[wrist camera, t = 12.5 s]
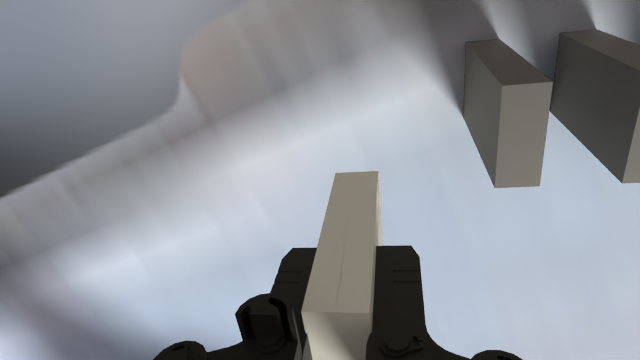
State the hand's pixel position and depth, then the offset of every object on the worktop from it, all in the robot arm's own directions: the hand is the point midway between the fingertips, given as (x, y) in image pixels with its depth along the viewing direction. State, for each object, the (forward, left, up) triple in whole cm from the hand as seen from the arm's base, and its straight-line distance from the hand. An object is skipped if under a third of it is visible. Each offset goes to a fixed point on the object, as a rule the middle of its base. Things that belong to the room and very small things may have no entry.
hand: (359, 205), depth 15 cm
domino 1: (+7, 0, -16) cm, 17 cm away
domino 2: (+12, 0, -16) cm, 20 cm away
